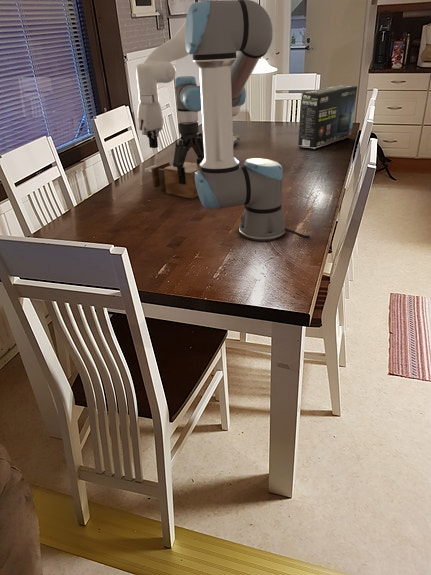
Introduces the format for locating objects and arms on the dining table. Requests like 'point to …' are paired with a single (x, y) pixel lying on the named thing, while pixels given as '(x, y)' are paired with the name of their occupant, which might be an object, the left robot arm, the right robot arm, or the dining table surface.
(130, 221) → the dining table surface
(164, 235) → the dining table surface
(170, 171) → the wooden block
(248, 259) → the dining table surface
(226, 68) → the right robot arm
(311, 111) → the router box
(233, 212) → the dining table surface
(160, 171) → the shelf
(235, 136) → the fossil
